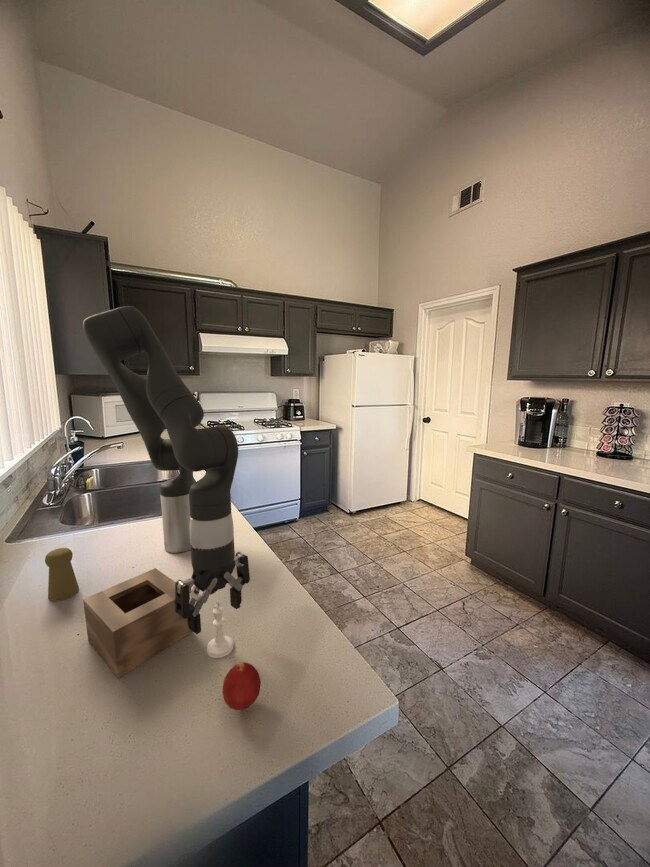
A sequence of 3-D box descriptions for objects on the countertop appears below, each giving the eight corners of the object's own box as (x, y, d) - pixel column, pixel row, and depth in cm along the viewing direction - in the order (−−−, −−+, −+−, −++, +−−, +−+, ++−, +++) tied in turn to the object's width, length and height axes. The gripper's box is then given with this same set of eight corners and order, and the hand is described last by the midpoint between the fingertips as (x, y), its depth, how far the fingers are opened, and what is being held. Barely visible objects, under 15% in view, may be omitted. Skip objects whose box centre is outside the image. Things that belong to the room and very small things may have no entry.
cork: (62, 602, 80) (56, 558, 78) (41, 599, 81) (34, 555, 79) (85, 587, 86) (80, 545, 84) (65, 584, 87) (59, 543, 85)
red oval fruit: (227, 691, 58) (225, 648, 56) (262, 688, 58) (261, 646, 57) (220, 726, 52) (217, 679, 51) (259, 723, 52) (257, 676, 51)
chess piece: (238, 642, 68) (236, 595, 67) (223, 661, 64) (220, 612, 62) (217, 635, 70) (214, 590, 68) (201, 654, 65) (197, 606, 64)
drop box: (158, 604, 79) (155, 568, 78) (192, 632, 71) (189, 591, 69) (88, 640, 69) (83, 599, 67) (118, 678, 60) (113, 631, 59)
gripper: (232, 519, 71) (235, 593, 73) (163, 545, 60) (169, 631, 62) (256, 529, 66) (259, 607, 69) (186, 559, 55) (192, 651, 58)
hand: (216, 618), depth 65 cm, fingers open, 8 cm apart
